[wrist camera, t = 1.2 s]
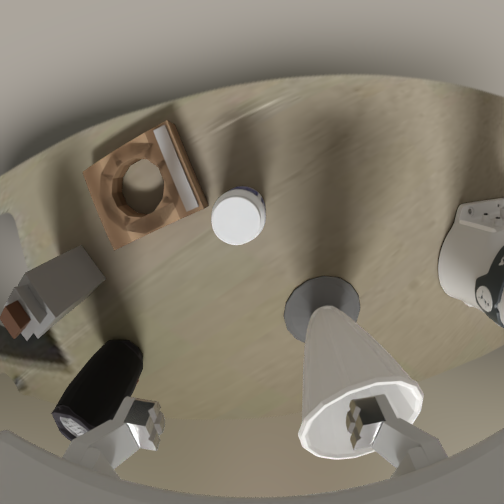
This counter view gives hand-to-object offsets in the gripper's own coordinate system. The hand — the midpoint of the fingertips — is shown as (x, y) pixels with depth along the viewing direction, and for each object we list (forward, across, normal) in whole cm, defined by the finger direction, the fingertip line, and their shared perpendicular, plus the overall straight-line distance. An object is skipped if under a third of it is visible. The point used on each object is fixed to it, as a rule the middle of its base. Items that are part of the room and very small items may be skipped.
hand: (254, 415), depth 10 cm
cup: (+28, -9, +10) cm, 31 cm away
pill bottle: (+28, +2, -5) cm, 29 cm away
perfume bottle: (+29, +28, +4) cm, 40 cm away
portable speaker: (+29, +24, +19) cm, 42 cm away
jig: (+28, +15, -9) cm, 33 cm away
